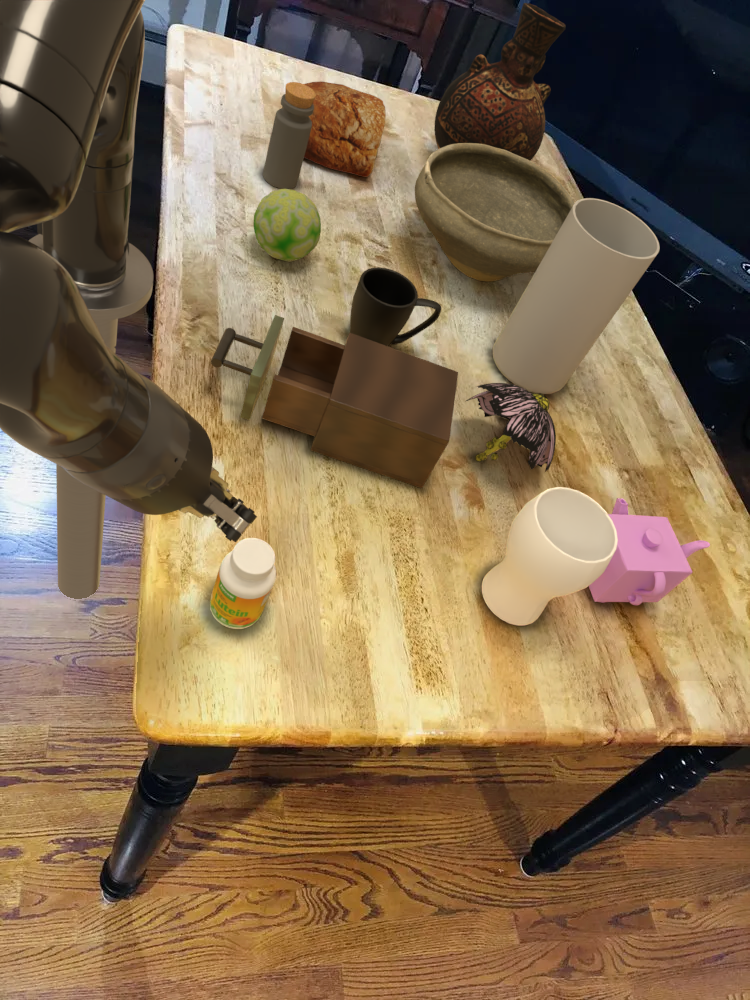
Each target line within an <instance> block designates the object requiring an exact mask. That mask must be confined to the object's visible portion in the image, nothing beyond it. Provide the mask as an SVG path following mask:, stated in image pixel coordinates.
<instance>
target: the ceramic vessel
mask: <svg viewBox="0 0 750 1000" xmlns="http://www.w3.org/2000/svg"><path fill="white" fill-rule="evenodd" d="M564 31H566V24H565V23H564V22H562V21H560V20H559V19H558V18H557V17H555V16H553V15H552V14H549V13H548V12H547V11H546V10H544V9H542V7H541V8H540V7H538V6H537V5H535V4H532V3H528V2H524V3H523V4H522V6H521V9H520V13H519V18H518V22H517V26H516V29H515V31H514V35H513V37H512V38H511V39H510V40H509V41H507V42H506V43H505V44H503V46H502V48H501V52H500V56H501V59H500V61H496V62H492V63H489V62H488V59H487V58H486V56H485V55H484V54H478V55H476V56H475V57H474V58H473V60H472V62H471V64H470V67H469V68H468V69H467V71H465V72H464V73H462V74H461V75H459V76H458V77H457V78H456V79H455V80H453V81H452V82H451V83H450V84H448V86H447V88H446V89H445V91H444V93H443V95H442V96H441V99H440V100H439V102H438V105H437V108H436V111H435V116H434V138H435V142H436V146H437V150H438V149H440V148H442V147H445V146H447V145H451V144H457V143H477V144H485V145H489V146H492V147H495V148H499V149H504V150H506V151H509V152H511V153H513V154H516V155H518V156H520V157H523V158H525V159H527V160H530V161H532V160H533V158H534V157H535V156H536V155H537V153H538V151H539V150H540V148H541V145H542V142H543V140H544V135H545V131H546V112H545V108H544V104H545V103H546V101H547V99H548V97H549V96H550V94H551V91H552V90H551V89H552V88H551V86H550V85H549V84H546V83H536V81H535V80H534V77H535V76H536V75H537V74H538V73H539V72H540V71H541V70H542V68H543V67H544V64H545V62H546V58H547V56H546V53H547V52H548V51H549V49H550V47H551V46H552V45H553V43H554V42H556V40H557V39H558V38H559V37H560V36H561V35H562V34H563V32H564Z"/></svg>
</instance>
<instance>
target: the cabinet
mask: <svg viewBox="0 0 750 1000" xmlns="http://www.w3.org/2000/svg"><path fill="white" fill-rule="evenodd" d="M344 345H345V348H344V351H343V355H342V358H341V362H340V365H339V368H338V372H337V375H336V379H335V382H334V386H333V389H332V392H331V396H330V399H329V402H328V405H327V407H326V410H325V412H324V415H323V418H322V420H321V423H320V426H319V428H318V431H317V433H316V436H313V440H312V444H311V448H310V451H311V452H314V453H317V454H320V455H323V456H326V457H329V458H332V459H335V460H336V461H337V460H338V461H340V462H344V463H347V464H350V465H352V466H355V467H358V468H361V469H365V470H366V471H367V470H368V471H370V472H373V473H376V474H379V475H382V476H385V477H388V478H391V479H393V480H397V481H399V482H402V483H405V484H408V485H411V486H414V487H417V488H420V489H423V487H424V486H425V484H426V482H427V480H428V479H429V477H430V475H431V473H432V471H433V470H434V468H435V467H436V465H437V463H438V461H439V460H440V458H441V457H442V455H443V453H444V451H445V450H446V449H447V446H448V444H449V443H450V439H451V432H452V425H453V424H452V423H453V417H454V409H455V401H456V394H457V385H458V377H459V371H456V370H454V369H452V368H448V367H445V366H442V365H439V364H437V363H435V362H432V361H429V360H426V359H423V358H421V357H418V356H415V355H413V354H411V353H407V352H404V351H402V350H399V349H396V348H393V347H391V346H389V345H388V346H385V345H383V344H380V343H377V342H374V341H372V340H369V339H366V338H363V337H361V336H358V335H355V334H352V333H350V332H348V334H347V338H346V340H345V343H344Z"/></svg>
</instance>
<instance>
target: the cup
mask: <svg viewBox="0 0 750 1000" xmlns="http://www.w3.org/2000/svg"><path fill="white" fill-rule="evenodd" d="M608 514H609V513H608V512H607V511H606V510H605V509H604V507H602V506H601V504H599V502H597V501H596V500H595V499H594V498H592V497H590V496H589V495H587V494H586V493H584V492H581V491H580V490H578V489H575V488H574V489H573V488H570V487H567V486H566V487H564V486H555V487H550V488H547V489H545V490H543V491H542V492H540V493H539V494H537V495H536V496H534V497H533V498H532V499H530V500H529V501H527V502H526V503H525V504H524V505H523V506H522V508H521V509H520V510H519V511H518V512H517V514H516V516H515V517H514V518H513V520H512V521H511V524H510V527H509V531H508V535H507V538H506V542H505V555H504V557H503V558H502V561H500V562H499V563H498V564H496V565H494V566H493V567H492V568H491V569H490V570H489V571H488V572H487V573H486V574H485V575H484V576H483V578H482V582H481V594H482V597H483V600H484V602H485V604H486V606H487V608H488V609H489V610H490V611H491V612H492V613H493V614H494V616H496V617H497V618H498V619H500V620H501V621H503V622H505V623H507V624H509V625H514V626H528V625H531V624H533V623H534V622H536V621H537V620H538V619H539V617H540V616H541V615H542V613H543V612H544V610H545V608H546V607H547V605H548V603H549V602H550V601H551V600H552V599H554V598H558V597H566V596H568V595H572V594H575V593H577V592H579V591H583V590H585V589H586V588H589V585H591V584H592V583H593V582H594V581H595V580H596V579H597V578H598V577H599V576H601V575H602V574H603V573H604V571H605V569H606V568H607V566H608V564H609V562H610V560H611V558H612V557H613V555H614V553H615V551H616V548H617V542H618V538H617V531H616V528H615V526H614V524H613V521H612V519H611V518H610V516H609V515H608Z"/></svg>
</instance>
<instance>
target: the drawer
mask: <svg viewBox="0 0 750 1000" xmlns="http://www.w3.org/2000/svg"><path fill="white" fill-rule="evenodd" d="M284 322H285V317H282V316H279V315H277V314H275V315H274V317H273V319H272V321H271V324H270V326H269V329H268V331H267V333H266V336H265V339H264V341H263V342H261V341H258V340H255V339H252V338H250V337H248V336H244V335H241V334H237V332H236V330H235V329H234V328H232V327H227V328H225V329H224V331H223V334H222V336H221V338H220V340H219V342H218V344H217V347H216V349H215V351H214V352H213V355H212V357H211V359H210V364H211V365H212V366H213V367H214V368H218V369H220V368H221V367H225V368H228V369H231V370H233V371H235V372H239V373H242V374H244V375H248V376H249V380H248V385H247V388H246V392H245V396H244V400H243V404H242V408H241V411H240V415H239V418H241V419H244V420H246V421H250V420H251V417H252V415H253V412H254V410H255V407H256V404H257V402H258V399H259V398H260V395H261V392H262V389H263V386H264V384H265V381H266V378H267V376H268V373H269V372H270V368H271V365H272V363H273V360H274V356H275V353H276V349H277V346H278V343H279V339H280V336H281V331H282V329H283V324H284ZM234 341H235V342H239V343H242V344H244V345H247V346H250V347H253V348H256V349H258V350H260V351H259V353H258V356H257V359H256V361H255V363H254V365H253V368H250V367H247V366H245V365H242V364H239V363H236V362H233V361H231V360H227V359H226V358H227V355H228V354H229V351H230V350H231V347H232V345H233V342H234ZM344 348H345V344H343V343H340V342H337V341H335V340H331V339H329V338H326V337H324V336H321V335H318V334H316V333H311V332H310V331H307V330H304V329H302V328H299V327H295V326H292V328H291V329H290V334H289V337H288V340H287V344H286V347H285V350H284V353H283V354H284V355H283V357H282V361H281V365H280V368H279V370H278V373H277V374H274V376H273V378H272V382H271V384H270V385H271V386H270V388H269V392H268V394H267V395H268V396H267V399H266V403H265V406H264V410H263V413H262V417H261V419H263V420H265V421H269V422H271V423H274V424H276V425H280V426H282V427H286V428H289V429H291V430H295V431H298V432H301V433H303V434H306V435H308V436H312V437H315V436H316V433H317V431H318V428H319V426H320V423H321V420H322V418H323V415H324V412H325V410H326V407H327V405H328V402H329V399H330V396H331V392H332V389H333V386H334V382H335V379H336V375H337V372H338V368H339V365H340V362H341V358H342V355H343V351H344Z"/></svg>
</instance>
